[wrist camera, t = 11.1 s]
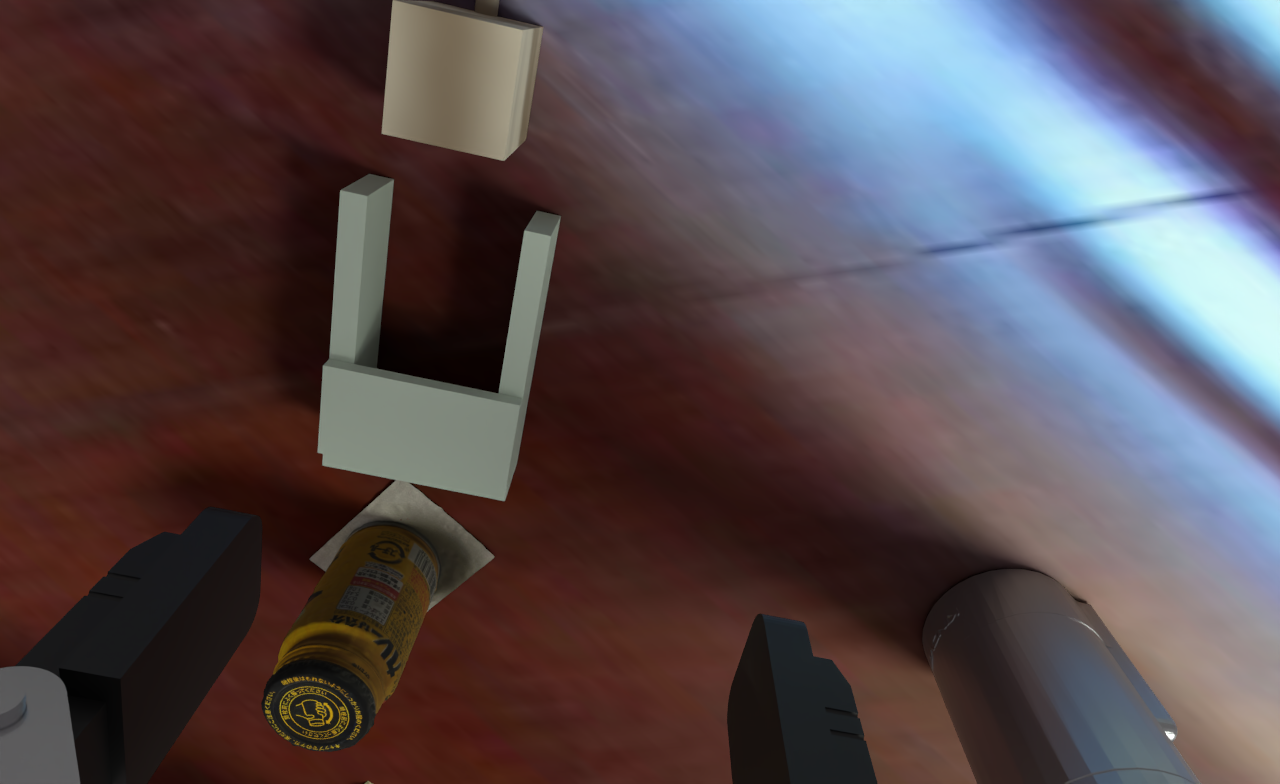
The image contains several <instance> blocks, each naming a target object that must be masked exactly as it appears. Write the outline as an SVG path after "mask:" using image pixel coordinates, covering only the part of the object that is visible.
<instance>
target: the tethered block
mask: <svg viewBox="0 0 1280 784" xmlns="http://www.w3.org/2000/svg"><path fill="white" fill-rule="evenodd" d="M498 8H499V0H476V3H475V11H473V10H469V9H464V8H460V7H456V6H451V5H447V4H443V3H439V2H434V1H412V0H393V2H392V15H391V27H390V39H389V51H388V63H387V75H386V87H385V99H384V112H383V124H382V134H385V135H390V136H394V137H399V138H403V139H408V140H412V141H417V142H421V143H426V144H430V145H435V146H439V147H444V148H448V149H453V150H457V151H462V152H466V153H471V154H475V155H480V156H484V157H489V158H493V159H498V160H502V161H505V160H506V159H507V158H508V157H509V156H510V155H511V154H512V153H513V152H514V151H515V150H516V149H517V148H518V147H519V146H520V145H521V144H522V143H523V142H524V141H525V140H526V137H527V130H528V124H529V117H530V111H531V104H532V98H533V91H534V85H535V78H536V72H537V65H538V58H539V52H540V45H541V39H542V32H543V27H541V26H537V25H533V24H528V23H524V22H520V21H516V20H511V19H507V18H503V17H498V16H497V15H498Z"/></svg>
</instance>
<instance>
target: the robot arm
mask: <svg viewBox="0 0 1280 784" xmlns="http://www.w3.org/2000/svg"><path fill="white" fill-rule="evenodd" d="M261 553H262V521H261V518H260V517H259V516H257V515H252V514H246V513H241V512H236V511H231V510H226V509H220V508H215V507H208V508H206V509H205V510H203V511H202V512H201V514H200V515H199V516H198V517H197V518H196V519H195V520H194V521H193V522H192V523H191V524H190V525H189V527H188V528H187V529H186V530H185V531H184V532H183V533H182V534H181V535H178V534H173V533H168V532H163V533H161V534H159V535H157V536H155V537H153V538H151V539H149V540H147V541H145V542H143V543H141V544H140V545H138V546H136V547H134V548H132V549H130V550H129V551H128V552H127V553H126V554H125V555H124V556H123V557H122V558H121V559H120V560H119V561H118V562H117V563H116V564H115V565H114V566H113V567H112V568H111V570H110V571H109V572H108V575H107V577H103V578H102V579H101V580H100V581H99V582H98V583H97V584H96V585H95V586H94V587H93V588H92V589H91V590H90V591H89V595H88V596H84V597H83V598H82V599H81V600H80V601H79V602H78V603H77V604H76V605H75V606H74V607H73V608H72V609H71V610H70V611H69V612H68V613H67V614H66V615H65V616H64V617H63V618H62V619H61V620H60V621H59V622H58V623H57V624H56V625H55V626H54V627H53V628H52V629H51V630H50V631H49V632H48V633H47V634H46V635H45V636H44V637H43V638H42V639H41V640H40V641H39V642H38V643H37V644H36V645H35V647H34V648H33V649H32V650H31V651H30V652H29V653H28V654H27V655H26V656H25V657H24V658H23V659H22V660H21V661H20V662H19V663H18V664H17V665H16V666H14V667H5V668H0V784H147V783H148V781H149V780H150V778H151V777H152V775H153V774H154V772H155V771H156V769H157V768H158V766H159V765H160V763H161V762H162V760H163V759H164V757H165V756H166V754H167V753H168V751H169V750H170V748H171V747H172V745H173V744H174V742H175V741H176V739H177V738H178V736H179V735H180V733H181V732H182V730H183V729H184V727H185V726H186V724H187V723H188V721H189V720H190V718H191V717H192V715H193V714H194V712H195V711H196V709H197V708H198V706H199V705H200V703H201V702H202V700H203V699H204V697H205V696H206V694H207V693H208V691H209V690H210V688H211V687H212V685H213V684H214V682H215V681H216V679H217V678H218V676H219V675H220V673H221V672H222V670H223V669H224V667H225V666H226V664H227V663H228V661H229V660H230V658H231V657H232V655H233V654H234V652H235V651H236V649H237V648H238V646H239V645H240V643H241V642H242V640H243V639H244V637H245V636H246V634H247V633H248V631H249V629H250V627H251V625H252V623H253V620H254V617H255V614H256V611H257V608H258V604H259V598H260V584H261ZM922 643H923V647H924V652H925V655H926V658H927V660H928V663H929V665H930V667H931V670H932V672H933V675H934V677H935V680H936V682H937V685H938V687H939V690H940V692H941V695H942V697H943V700H944V703H945V705H946V708H947V710H948V713H949V715H950V718H951V720H952V722H953V725H954V727H955V730H956V732H957V735H958V737H959V740H960V742H961V745H962V747H963V749H964V752H965V754H966V757H967V759H968V762H969V764H970V767H971V769H972V772H973V774H974V777H975V779H976V781H977V784H1201V783H1200V782H1199V780H1198V779H1197V777H1196V776H1195V775H1194V773H1193V772H1192V770H1191V769H1190V767H1189V766H1188V764H1187V763H1186V762H1185V760H1184V759H1183V757H1182V756H1181V754H1180V753H1179V751H1178V750H1177V748H1176V747H1175V746H1174V744H1173V741H1174V740H1175V738H1176V736H1177V726H1176V724H1175V722H1174V721H1173V719H1172V718H1171V717H1170V715H1169V714H1168V712H1167V711H1166V710H1165V708H1164V707H1163V705H1162V704H1161V703H1160V701H1159V700H1158V698H1157V697H1156V696H1155V694H1154V693H1153V691H1152V690H1151V689H1150V687H1149V686H1148V684H1147V683H1146V682H1145V680H1144V679H1143V678H1142V676H1141V675H1140V673H1139V672H1138V671H1137V669H1136V668H1135V666H1134V665H1133V664H1132V662H1131V661H1130V659H1129V658H1128V657H1127V655H1126V654H1125V652H1124V651H1123V650H1122V648H1121V647H1120V645H1119V644H1118V643H1117V641H1116V640H1115V638H1114V637H1113V636H1112V634H1111V633H1110V631H1109V630H1108V629H1107V627H1106V626H1105V624H1104V623H1103V622H1102V620H1101V619H1100V617H1099V616H1098V615H1097V613H1096V612H1095V610H1094V609H1093V608H1092V606H1091V605H1089V604H1085V603H1081V602H1078V601H1076V600H1075V599H1074V598H1073V597H1072V596H1071V595H1070V594H1069V593H1068V591H1067V590H1066V589H1065V588H1064V587H1063V586H1062V585H1061V584H1059V583H1058V582H1057V581H1055V580H1054V579H1053V578H1050V577H1048V576H1046V575H1043V574H1041V573H1039V572H1034V571H1029V570H1025V569H1001V570H994V571H988V572H985V573H982V574H978V575H975V576H972V577H970V578H968V579H966V580H964V581H962V582H960V583H958V584H957V585H955V586H954V587H953V588H951V589H950V590H949V591H947V592H946V593H945V594H944V595H943V596H942V597H941V598H940V599H939V600H938V601H937V602H936V603H935V604H934V606H933V608H932V609H931V611H930V613H929V614H928V616H927V618H926V621H925V624H924V628H923V637H922ZM857 715H858V711H857V708H856V704H855V700H854V697H853V693H852V689H851V686H850V685H849V683H848V682H847V680H846V679H845V678H844V676H843V675H842V674H841V672H840V671H839V669H838V668H837V667H836V665H835V664H834V663H833V661H832V660H829V659H824V658H819V657H814V656H813V653H812V649H811V645H810V640H809V636H808V632H807V628H806V625H805V624H804V622H801V621H795V620H790V619H785V618H780V617H775V616H769V615H764V614H758V615H757V616H756V618H755V620H754V622H753V624H752V627H751V630H750V633H749V636H748V639H747V642H746V645H745V648H744V651H743V653H742V656H741V659H740V662H739V665H738V668H737V671H736V674H735V677H734V680H733V683H732V686H731V690H730V695H729V702H728V713H727V724H728V736H729V747H730V758H731V770H732V781H733V784H877V780H876V777H875V773H874V769H873V766H872V762H871V758H870V755H869V751H868V748H867V744H866V741H864V733H863V729H862V726H861V722H860V718H857Z"/></svg>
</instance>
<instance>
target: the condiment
mask: <svg viewBox="0 0 1280 784" xmlns="http://www.w3.org/2000/svg"><path fill="white" fill-rule="evenodd" d="M400 519H401V520H400ZM493 558H494V556H493V555H492V554H491V553H490V552H489V551H488V550H487V549H486V548H485V547H484V546H483V545H482V544H481V543H480V542H479V541H477V540H476V539H475V538H474V537H473V536H472V535H471V534H469V533H468V532H467V531H466V530H465V529H464V528H463V527H462V526H461V525H460V524H458V523H457V522H456V521H455V520H454V519H452V518H451V517H450V516H449V515H447V514H446V513H445V512H444V511H443V509H442V508H441V507H438V506H437V505H436V504H434V503H433V502H432V501H430V500H429V499H428V498H427V497H426V496H425V495H424V494H423V493H422V492H420V491H419V490H418V489H416V488H415V487H414V486H412V485H411V484H410V483H409V482H404V481H399V480H396V481H395V482H394V483H393V484H391V485H390V486H389V487H388V488H387V489H386V490H385V491H384V492H382V493H381V494H380V495H379V496H378V497H377V498H376V499H375V500H374V501H373V502H372V503H370V504H369V505H368V506H367V507H366V508H365V509H364V510H363V511H362V512H360V513H359V514H358V515H357V516H356V517H355V518H354V519H352V520H351V521H350V522H349V523H348V524H347V525H346V526H345V527H344V528H343V529H341V530H340V531H339V532H338V533H337V534H336V535H335V536H334V537H333V538H331V539H330V540H329V541H328V542H327V543H326V544H325V545H324V546H323V547H322V548H320V549H319V550H318V551H317V552H316V553H315V554H314V555H313V556H312V557H311V558H310V559H309V560H311V561H312V562H314V563H315V564H316V565H317V566H319V567H320V568H321V569H323V570H324V571H325V572H326V573H325V574H324V575H323V577H322V578H321V580H320V581H319V583H318V584H317V586H316V587H315V589H314V592H313V594H312V595H311V596H310V598H309V599H308V602H307V604H306V605H305V607H304V609H303V610H302V612H301V614H300V615H299V617H298V618H297V620H296V622H295V623H294V624H293V625H292V628H291V629H290V630H289V632H288V634H287V635H286V637H285V638H284V642H283V644H282V646H281V649H280V652H279V655H278V661H279V662H278V663H277V665H276V667H275V669H274V672H273V675H272V677H271V678H270V679H269V681H268V682H267V684H266V688H265V689H264V698H263V701H262V703H261V704H262V710H263V713H264V715H265V717H266V719H267V721H268V723H269V724H270V726H271V727H272V728H273V729H274V730H275V731H276V733H277V734H279V735H280V736H282V737H283V738H284V739H285V740H287V741H289V742H291V744H292V745H293V746H301V747H302V748H306V749H308V750H313V751H328V752H330V751H338V750H341V749H344V748H348V747H351V746H353V745H355V744H356V743H357V742H358V741H359V740H361V739H362V738H363V737H364V736H365V734H367V733H368V732H369V730H370V728H371V727H372V726H373V725H374V718H375V716H376V713H377V712H378V710H379V709H380V707H381V705H382V704H383V703H384V702H385V701H386V700H387V699H388V698H389V697H390V696H391V695H392V693H393V692H394V691H395V689H396V687H397V684H398V682H399V679H400V677H401V674H402V672H403V669H404V667H405V664H406V661H407V660H408V656H409V654H410V652H411V649H412V647H413V644H414V642H415V639H416V637H417V634H418V632H419V630H420V627H421V625H422V622H423V620H424V617H425V614H426V612H427V611H428V610H429V609H431V608H432V607H433V606H434V605H435V604H437V603H438V602H439V601H440V600H442V599H443V598H444V597H446V596H447V595H448V594H449V593H450V592H452V591H454V590H455V589H456V588H457V587H458V586H459V585H461V584H462V583H463V582H464V581H466V580H467V579H468V578H469V577H470V576H472V575H473V574H474V573H475V572H476V571H478V570H479V569H481V568H482V567H484V566H485V565H486V564H487V563H488V562H489V561H491V560H492V559H493Z"/></svg>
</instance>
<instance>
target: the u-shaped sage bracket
mask: <svg viewBox="0 0 1280 784" xmlns="http://www.w3.org/2000/svg"><path fill="white" fill-rule="evenodd" d="M393 185H394V179H391V178H386V177H381V176H377V175H372V174H368V175H366V176H365V177H363V178H361V179H359V180H357V181H356V182H354V183H352V184H350V185H349V186H347V187H345V188H343V189H341V190H340V201H339V217H338V232H337V247H336V263H335V278H334V293H333V309H332V324H331V339H330V355H329V360H328V361H327V362H326V363H325V364H324V365H323V375H322V391H321V407H320V423H319V439H318V453H321V454H323V462H322V465H323V466H328V467H333V468H338V469H343V470H348V471H353V472H359V473H364V474H369V475H374V476H379V477H384V478H389V479H394V480H399V481H404V482H409V483H415V484H420V485H425V486H430V487H435V488H440V489H445V490H450V491H455V492H460V493H465V494H471V495H476V496H481V497H486V498H491V499H496V500H501V501H505V499H506V496H507V493H508V490H509V487H510V484H511V481H512V477H513V474H514V471H515V468H516V465H517V461H518V455H519V450H520V444H521V438H522V433H523V427H524V421H525V416H526V410H527V405H528V399H529V393H530V388H531V382H532V376H533V371H534V365H535V359H536V354H537V348H538V342H539V337H540V331H541V326H542V320H543V314H544V309H545V303H546V297H547V292H548V286H549V280H550V275H551V269H552V263H553V258H554V252H555V247H556V241H557V235H558V230H559V224H560V218H561V216H559V215H554V214H550V213H545V212H541V211H536V213H535V214H534V216H533V217H532V219H531V221H530V222H529V224H528V226H527V227H526V229H525V230H524V236H523V243H522V249H521V255H520V261H519V268H518V274H517V280H516V286H515V293H514V299H513V305H512V311H511V318H510V324H509V330H508V336H507V343H506V349H505V355H504V361H503V368H502V374H501V380H500V386H499V393H493V392H489V391H484V390H479V389H474V388H469V387H464V386H459V385H454V384H449V383H445V382H440V381H435V380H430V379H425V378H420V377H415V376H410V375H406V374H401V373H396V372H391V371H386V370H381V369H377V360H378V349H379V338H380V327H381V317H382V306H383V295H384V284H385V273H386V262H387V251H388V240H389V229H390V218H391V207H392V196H393Z"/></svg>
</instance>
